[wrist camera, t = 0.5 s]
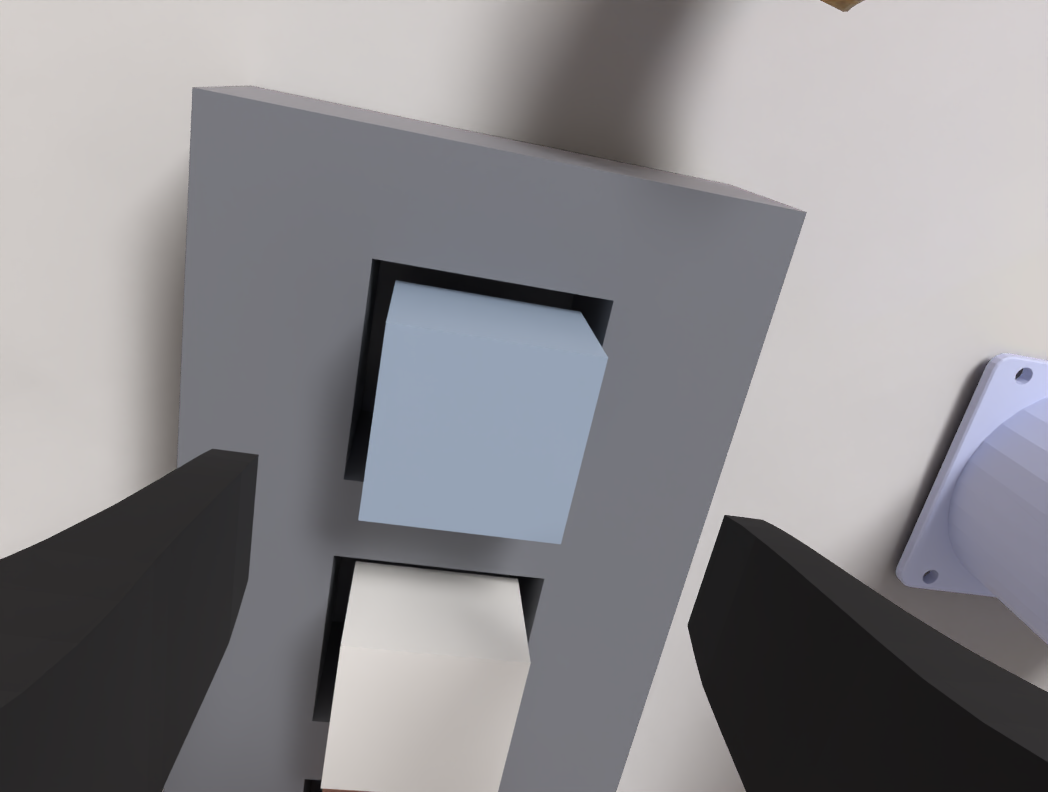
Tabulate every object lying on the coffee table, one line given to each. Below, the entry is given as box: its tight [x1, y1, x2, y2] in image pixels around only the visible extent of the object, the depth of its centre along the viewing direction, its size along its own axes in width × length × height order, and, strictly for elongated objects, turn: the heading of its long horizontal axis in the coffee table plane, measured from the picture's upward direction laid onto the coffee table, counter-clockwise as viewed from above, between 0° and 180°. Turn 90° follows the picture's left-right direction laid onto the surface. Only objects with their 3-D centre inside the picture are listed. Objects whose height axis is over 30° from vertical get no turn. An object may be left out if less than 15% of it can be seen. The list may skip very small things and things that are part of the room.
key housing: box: [164, 86, 807, 792], centre depth 21 cm, size 12×24×4 cm, turn 169°
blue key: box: [358, 280, 608, 544], centre depth 16 cm, size 4×4×3 cm
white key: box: [321, 561, 531, 792], centre depth 18 cm, size 4×4×3 cm
